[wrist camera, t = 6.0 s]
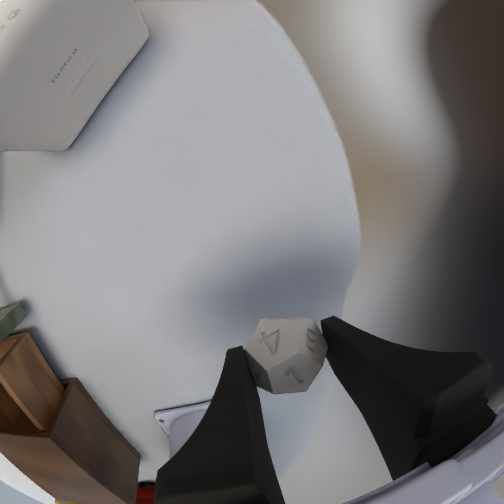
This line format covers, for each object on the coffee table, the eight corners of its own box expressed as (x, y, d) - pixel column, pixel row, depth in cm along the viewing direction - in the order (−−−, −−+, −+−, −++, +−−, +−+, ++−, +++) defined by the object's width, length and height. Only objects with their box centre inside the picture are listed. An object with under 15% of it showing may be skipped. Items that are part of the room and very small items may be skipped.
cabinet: (6, 384, 19) (-22, 429, 12) (76, 377, 20) (49, 438, 13) (68, 455, 23) (55, 498, 16) (140, 455, 24) (135, 508, 17)
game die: (263, 376, 14) (276, 418, 11) (222, 326, 12) (227, 369, 10) (324, 340, 13) (349, 377, 11) (291, 284, 12) (314, 318, 9)
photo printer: (68, 162, 15) (-79, 176, 4) (30, 134, 14) (-105, 129, 2) (161, 35, 14) (120, -96, 2) (117, 13, 13) (53, -95, 1)
